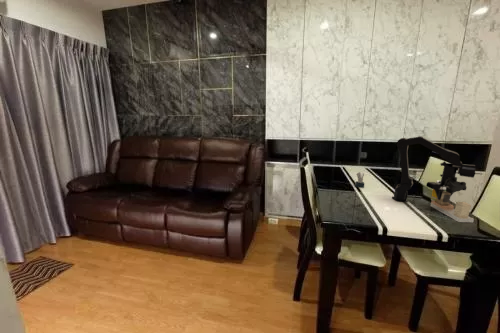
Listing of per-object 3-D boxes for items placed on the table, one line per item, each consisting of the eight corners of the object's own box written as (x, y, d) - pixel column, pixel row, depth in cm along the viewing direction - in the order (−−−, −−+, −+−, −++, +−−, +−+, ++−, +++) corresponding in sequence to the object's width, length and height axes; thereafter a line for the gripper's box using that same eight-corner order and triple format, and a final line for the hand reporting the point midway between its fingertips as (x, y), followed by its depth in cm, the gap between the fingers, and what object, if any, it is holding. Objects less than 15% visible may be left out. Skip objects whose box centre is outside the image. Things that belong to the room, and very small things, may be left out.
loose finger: (441, 205, 135) (444, 193, 134) (436, 202, 140) (438, 191, 138) (449, 205, 135) (451, 194, 133) (442, 202, 140) (445, 191, 138)
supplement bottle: (438, 203, 146) (443, 183, 143) (427, 199, 153) (431, 180, 149) (447, 202, 148) (452, 183, 145) (436, 198, 154) (440, 179, 151)
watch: (362, 185, 178) (364, 171, 176) (364, 188, 171) (366, 174, 168) (354, 184, 180) (356, 170, 177) (355, 187, 172) (357, 173, 170)
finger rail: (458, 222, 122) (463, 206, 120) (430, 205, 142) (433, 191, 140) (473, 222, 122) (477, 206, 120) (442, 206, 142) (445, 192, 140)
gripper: (443, 178, 126) (436, 205, 130) (478, 178, 125) (471, 206, 129) (428, 172, 137) (422, 197, 140) (461, 173, 136) (454, 198, 140)
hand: (442, 199), depth 137 cm, fingers closed on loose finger, 4 cm apart
